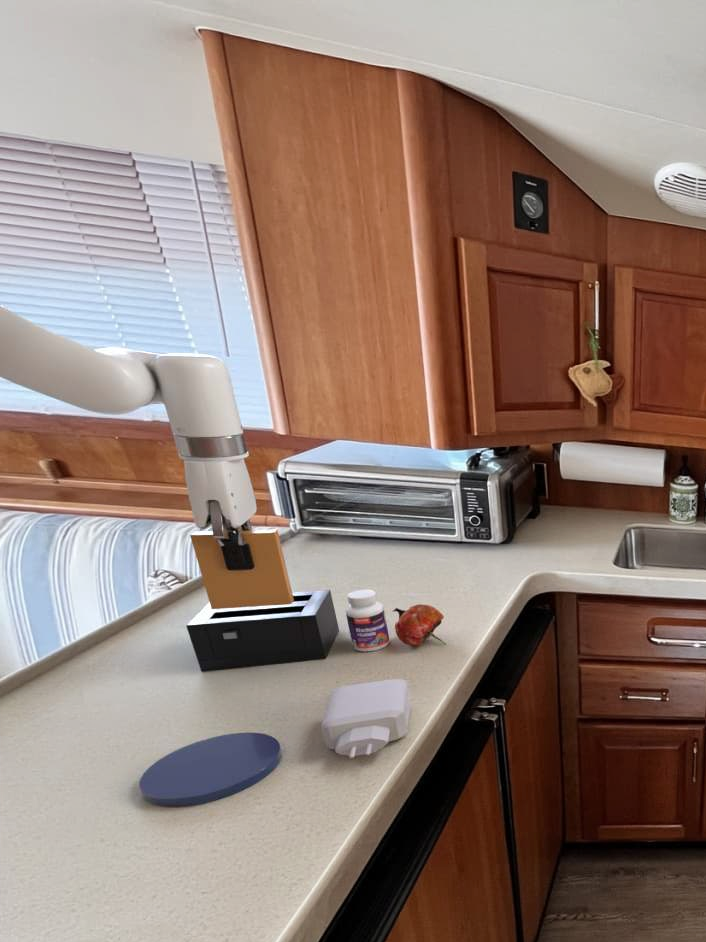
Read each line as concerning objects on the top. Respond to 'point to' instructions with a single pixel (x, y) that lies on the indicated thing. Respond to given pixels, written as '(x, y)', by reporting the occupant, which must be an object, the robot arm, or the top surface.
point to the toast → (244, 572)
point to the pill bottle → (366, 621)
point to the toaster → (265, 633)
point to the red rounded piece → (417, 624)
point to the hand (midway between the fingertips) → (243, 566)
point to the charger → (366, 716)
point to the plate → (210, 769)
